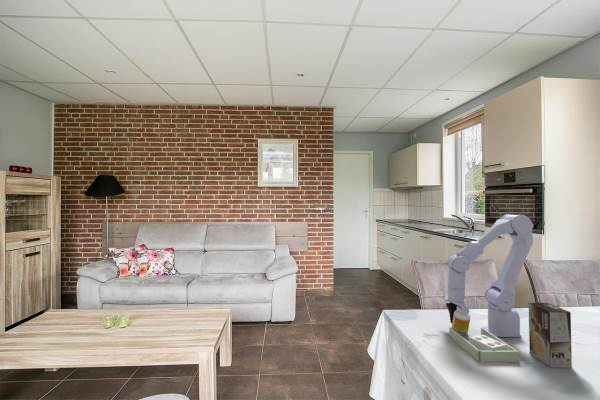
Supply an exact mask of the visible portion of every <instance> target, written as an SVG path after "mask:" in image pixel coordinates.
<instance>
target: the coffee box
mask: <svg viewBox="0 0 600 400" xmlns="http://www.w3.org/2000/svg"><path fill="white" fill-rule="evenodd" d="M571 314H572V313H571V311H570V310H566V309H563V308H561V307H559V306H557V305H553V304H552V303H548V302H528V334H529V335H528V336H529V337H528V340H529V354H530V355H532V356H534V358H536V359H537V360H539V361H541V362H542V363H544V364H545V365H546V366H549V367H550V368H552V369H553V368H556V369H557V368H559V369H560V368H561V369H572V368H573V364H572V361H573V360H572V359H573V358H572V355H573V354H572V319H571V318H572V317H571Z"/></svg>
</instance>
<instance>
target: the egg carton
mask: <svg viewBox="0 0 600 400" xmlns="http://www.w3.org/2000/svg"><path fill="white" fill-rule="evenodd" d="M469 342H470V343H471V344H472V345H474V346H475V347H476V348H477V349H479V350H480V351H507V345H506V344H503V343H501V342H499V341H496V340H494V339H492V338H490V337H487V336H485V335H481V334H480V335H475V336H470V337H469Z"/></svg>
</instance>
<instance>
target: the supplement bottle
mask: <svg viewBox="0 0 600 400" xmlns="http://www.w3.org/2000/svg"><path fill="white" fill-rule="evenodd" d="M470 322H471V315H470V310H469V311H462V308H461V306H457V310H455V311H454V315H453V321H452V323H451V328H452V329H453V330H455V331H456V332H457V333H458V334H460V335H461V336H465V335H468V333H469V328H470Z"/></svg>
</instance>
